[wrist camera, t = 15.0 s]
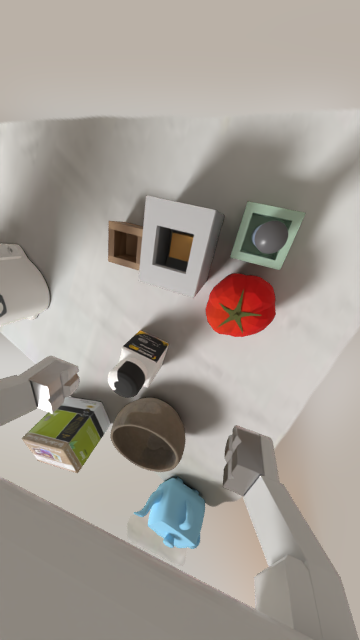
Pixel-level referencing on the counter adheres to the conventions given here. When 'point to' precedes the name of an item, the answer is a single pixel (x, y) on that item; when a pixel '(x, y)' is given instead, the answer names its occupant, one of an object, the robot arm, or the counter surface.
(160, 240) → the grey hollow block
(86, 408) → the tea box
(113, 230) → the holder
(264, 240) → the grey rod
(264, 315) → the tomato
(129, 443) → the bowl
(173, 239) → the button
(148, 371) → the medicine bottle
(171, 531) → the teapot
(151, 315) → the counter surface
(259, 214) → the rest socket
